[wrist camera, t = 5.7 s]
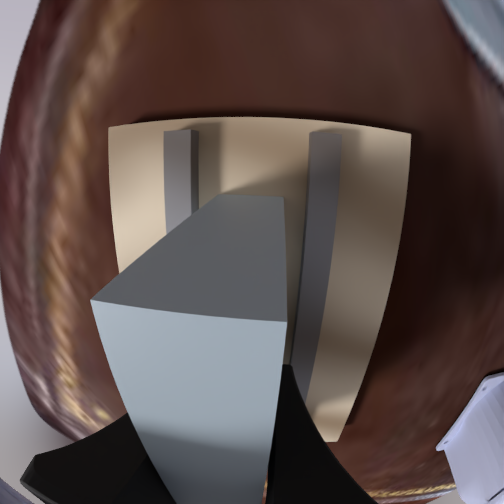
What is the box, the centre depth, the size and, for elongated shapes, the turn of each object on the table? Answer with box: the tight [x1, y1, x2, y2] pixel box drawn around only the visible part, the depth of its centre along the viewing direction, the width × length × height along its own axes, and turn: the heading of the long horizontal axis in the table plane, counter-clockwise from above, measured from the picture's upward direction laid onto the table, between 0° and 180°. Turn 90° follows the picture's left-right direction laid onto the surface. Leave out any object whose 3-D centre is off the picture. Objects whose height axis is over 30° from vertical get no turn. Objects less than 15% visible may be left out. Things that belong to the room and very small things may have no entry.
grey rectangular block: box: [90, 194, 287, 504], centre depth 9 cm, size 12×2×8 cm, turn 178°
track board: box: [109, 117, 411, 442], centre depth 13 cm, size 18×12×2 cm, turn 178°
